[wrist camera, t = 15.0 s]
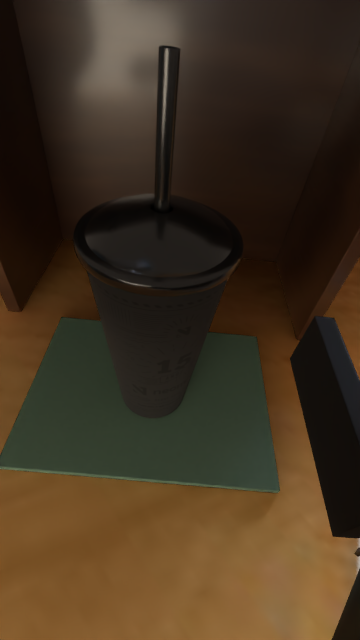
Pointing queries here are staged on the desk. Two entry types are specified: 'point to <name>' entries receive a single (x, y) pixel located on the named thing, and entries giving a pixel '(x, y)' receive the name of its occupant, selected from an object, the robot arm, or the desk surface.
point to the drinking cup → (157, 271)
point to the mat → (146, 433)
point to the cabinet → (185, 128)
